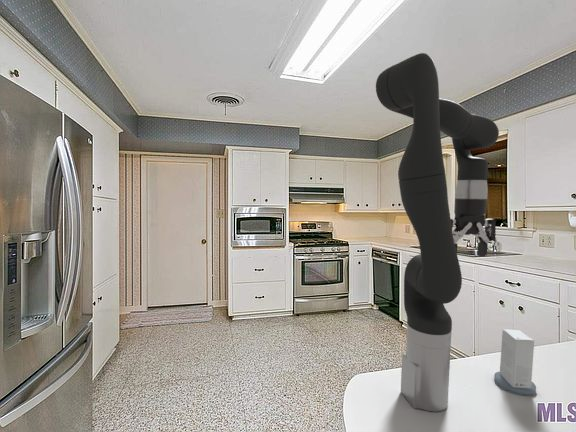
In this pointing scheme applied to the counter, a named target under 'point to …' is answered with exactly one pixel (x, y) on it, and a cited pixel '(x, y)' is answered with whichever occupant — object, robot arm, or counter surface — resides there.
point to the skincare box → (516, 358)
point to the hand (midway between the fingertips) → (467, 256)
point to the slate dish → (520, 391)
